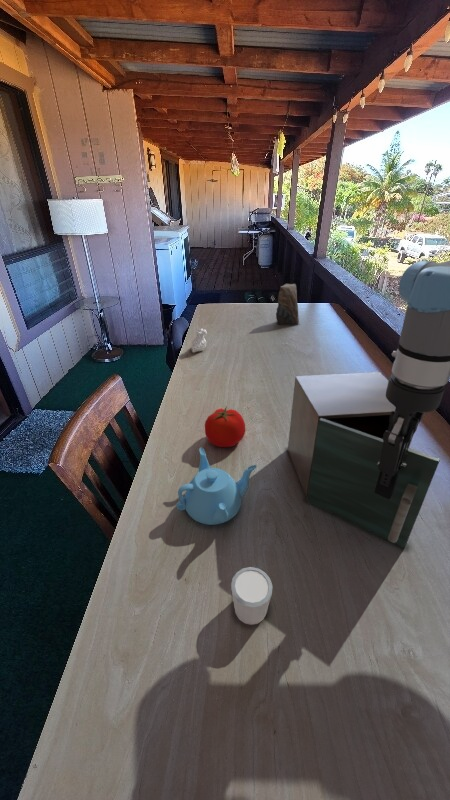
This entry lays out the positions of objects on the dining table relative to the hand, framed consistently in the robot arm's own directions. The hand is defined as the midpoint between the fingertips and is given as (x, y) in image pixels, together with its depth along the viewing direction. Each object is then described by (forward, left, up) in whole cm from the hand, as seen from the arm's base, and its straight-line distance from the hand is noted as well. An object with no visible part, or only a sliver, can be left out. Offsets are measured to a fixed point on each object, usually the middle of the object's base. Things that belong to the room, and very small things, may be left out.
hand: (382, 493), depth 64 cm
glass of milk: (+26, +10, -16) cm, 31 cm away
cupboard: (-2, -23, -15) cm, 28 cm away
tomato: (+26, -38, -16) cm, 49 cm away
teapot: (+30, -14, -16) cm, 36 cm away
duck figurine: (+30, -108, -8) cm, 112 cm away
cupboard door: (+2, -4, -15) cm, 16 cm away
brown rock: (-19, -141, -16) cm, 143 cm away
